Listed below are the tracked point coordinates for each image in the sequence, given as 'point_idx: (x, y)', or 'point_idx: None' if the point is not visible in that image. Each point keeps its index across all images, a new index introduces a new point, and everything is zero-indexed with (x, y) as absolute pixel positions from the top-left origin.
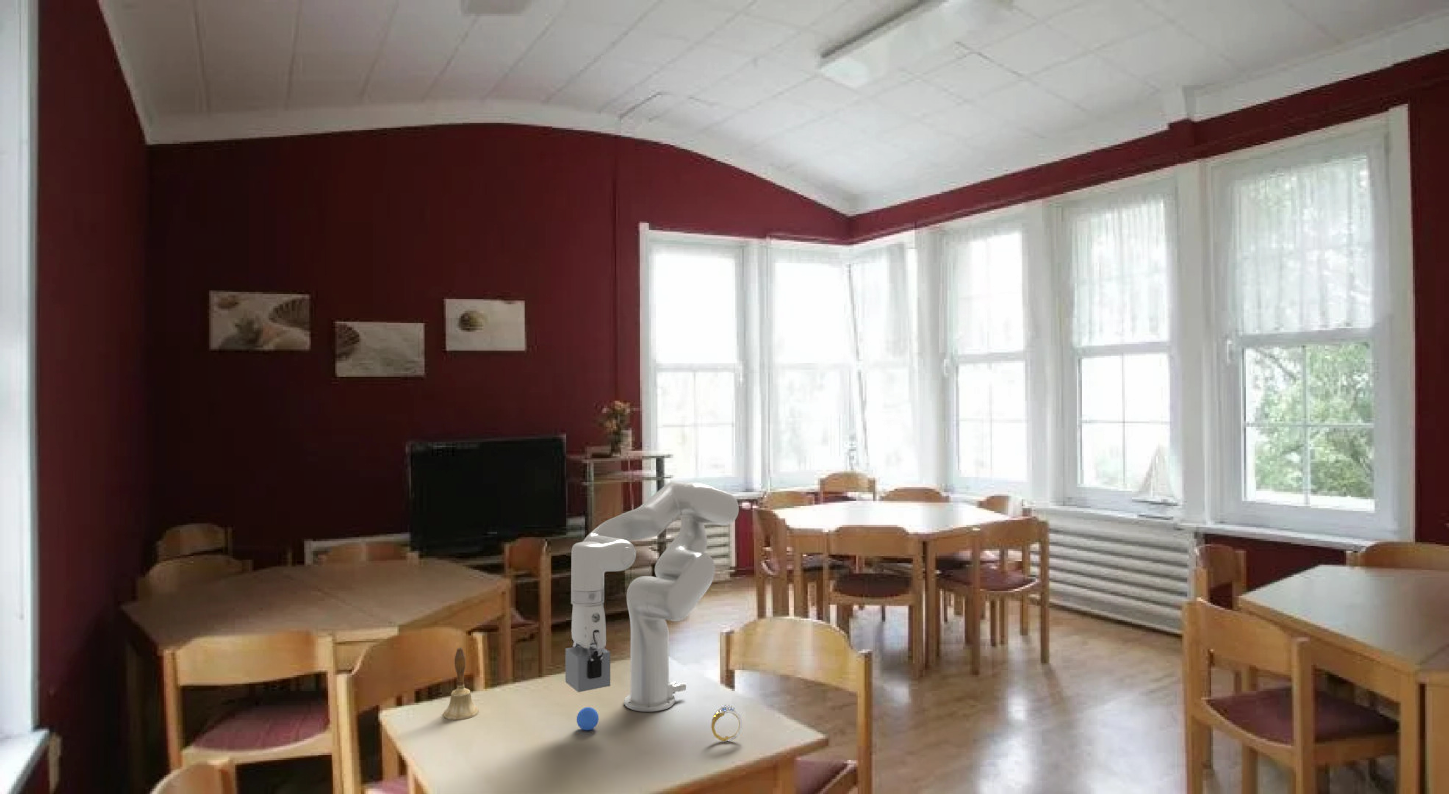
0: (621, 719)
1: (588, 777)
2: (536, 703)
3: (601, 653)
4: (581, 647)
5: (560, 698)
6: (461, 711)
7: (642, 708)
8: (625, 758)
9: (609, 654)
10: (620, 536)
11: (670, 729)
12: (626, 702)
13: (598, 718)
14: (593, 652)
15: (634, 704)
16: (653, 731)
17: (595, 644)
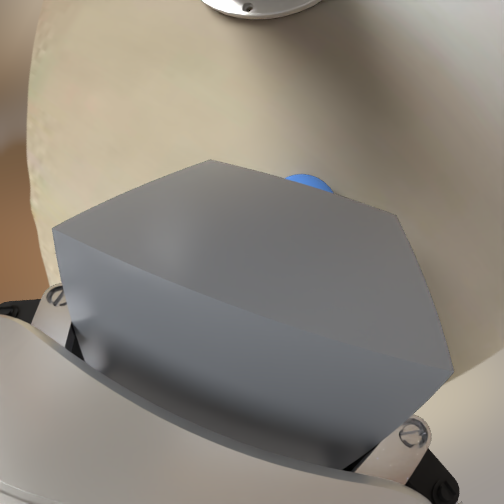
0: (314, 79)
1: (472, 355)
2: (94, 187)
3: (453, 499)
4: (112, 379)
5: (95, 131)
6: None
7: (312, 2)
8: (498, 264)
9: (442, 358)
10: None
11: (473, 53)
12: (238, 13)
13: (326, 185)
14: (296, 443)
15: (270, 3)
16: (456, 88)
17: (74, 264)
